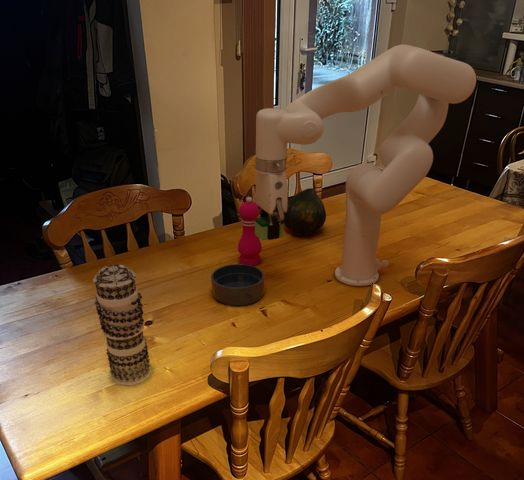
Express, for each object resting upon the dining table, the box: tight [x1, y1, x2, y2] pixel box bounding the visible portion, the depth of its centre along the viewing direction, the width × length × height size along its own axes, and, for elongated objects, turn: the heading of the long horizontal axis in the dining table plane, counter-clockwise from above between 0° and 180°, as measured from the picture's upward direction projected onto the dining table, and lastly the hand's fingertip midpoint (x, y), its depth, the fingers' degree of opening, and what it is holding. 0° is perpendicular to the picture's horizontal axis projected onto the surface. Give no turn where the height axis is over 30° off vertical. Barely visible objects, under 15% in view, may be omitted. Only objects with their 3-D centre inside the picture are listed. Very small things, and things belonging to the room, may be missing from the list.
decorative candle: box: [92, 264, 152, 386], centre depth 109 cm, size 9×9×25 cm
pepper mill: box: [237, 196, 263, 266], centre depth 156 cm, size 7×7×20 cm
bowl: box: [210, 263, 265, 307], centre depth 144 cm, size 14×14×6 cm
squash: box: [283, 187, 327, 236], centre depth 178 cm, size 14×15×15 cm
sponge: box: [255, 215, 285, 241], centre depth 139 cm, size 6×4×4 cm
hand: (269, 234), depth 140 cm, fingers closed on sponge, 4 cm apart
